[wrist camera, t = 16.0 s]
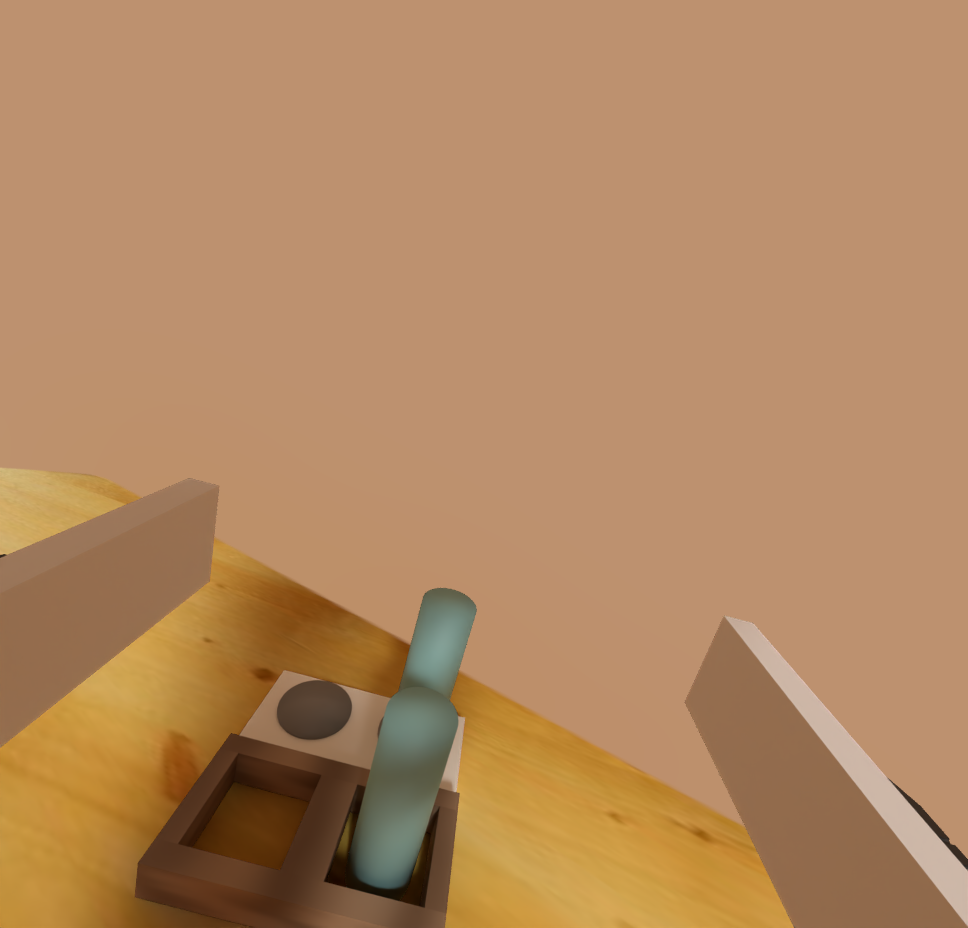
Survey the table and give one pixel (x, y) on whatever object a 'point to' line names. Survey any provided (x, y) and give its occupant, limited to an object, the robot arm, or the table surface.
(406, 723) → the teal pin
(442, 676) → the pin
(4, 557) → the robot arm
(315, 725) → the pattern plate
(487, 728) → the table surface
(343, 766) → the brown wooden peg holder
